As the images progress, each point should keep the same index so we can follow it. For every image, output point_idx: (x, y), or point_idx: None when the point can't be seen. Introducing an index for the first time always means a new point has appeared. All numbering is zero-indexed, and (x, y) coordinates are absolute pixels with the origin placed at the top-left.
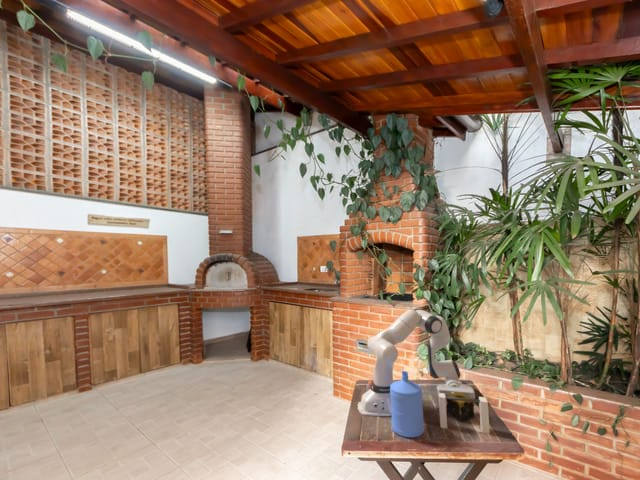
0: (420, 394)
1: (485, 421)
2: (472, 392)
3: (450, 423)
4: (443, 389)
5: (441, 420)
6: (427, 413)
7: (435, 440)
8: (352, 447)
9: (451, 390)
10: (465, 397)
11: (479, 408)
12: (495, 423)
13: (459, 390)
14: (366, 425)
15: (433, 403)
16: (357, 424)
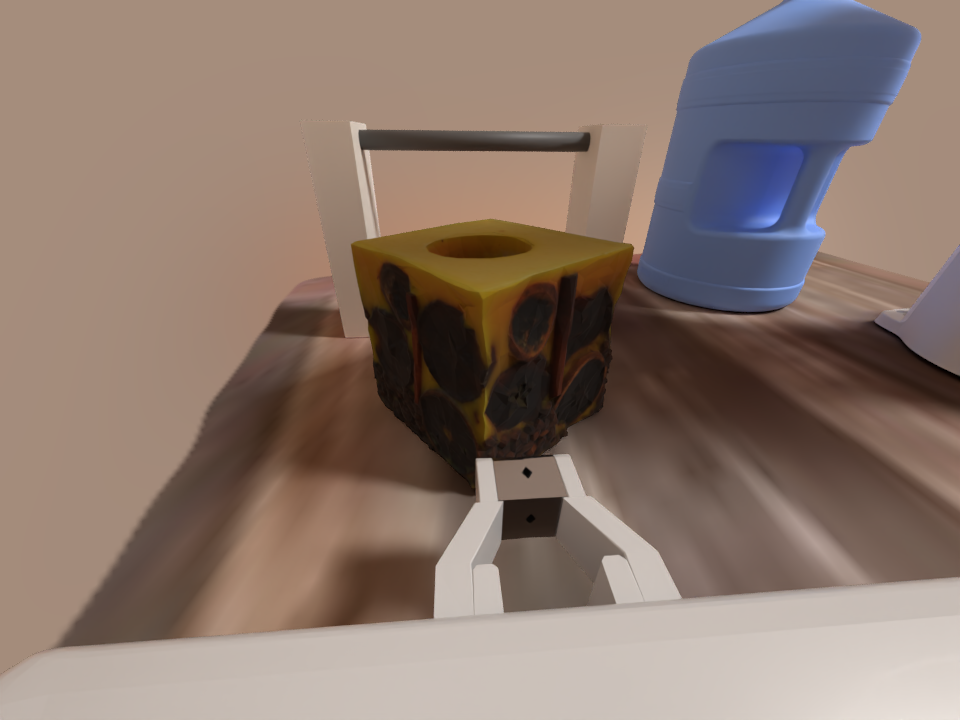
0: (685, 78)
1: None
2: (48, 655)
3: None
4: (938, 602)
5: None
6: (727, 380)
7: None
8: None
9: (704, 609)
10: (427, 248)
11: (364, 219)
12: (252, 378)
13: (462, 691)
14: (861, 280)
15: (842, 562)
16: (895, 279)
